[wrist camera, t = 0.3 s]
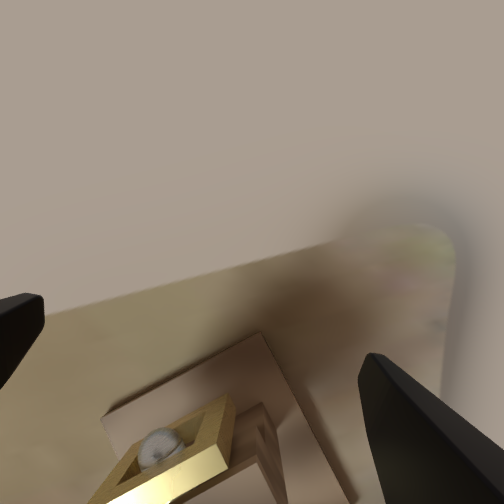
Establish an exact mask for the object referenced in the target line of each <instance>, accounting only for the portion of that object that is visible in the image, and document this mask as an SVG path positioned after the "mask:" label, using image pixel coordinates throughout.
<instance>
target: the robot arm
mask: <svg viewBox="0 0 504 504" xmlns="http://www.w3.org/2000/svg"><path fill="white" fill-rule="evenodd" d="M44 323H45V315H44V299H43V297H42V296H40V295H36V294H31V293H22V294H19V295H16V296H12V297H8V298H4V299H1V300H0V389H1V388H2V387H3V386H4V384H5V383H6V382H7V381H8V379H9V378H10V377H11V375H12V374H13V372H14V371H15V370H16V368H17V367H18V365H19V364H20V362H21V361H22V359H23V358H24V356H25V355H26V353H27V352H28V350H29V349H30V347H31V346H32V345H33V343H34V342H35V340H36V339H37V337H38V336H39V334H40V333H41V331H42V329H43V327H44ZM358 387H359V393H360V399H361V404H362V410H363V416H364V422H365V428H366V433H367V437H368V441H369V445H370V449H371V452H372V456H373V459H374V463H375V467H376V470H377V474H378V477H379V481H380V484H381V488H382V491H383V495H384V499H385V502H386V504H504V450H503V449H502V448H500V447H499V446H498V445H497V444H495V443H494V442H493V441H492V440H490V439H489V438H488V437H486V436H485V435H484V434H483V433H482V432H480V431H479V430H478V429H477V428H475V427H474V426H473V425H471V424H470V423H469V422H468V421H466V420H465V419H464V418H463V417H461V416H460V415H459V414H457V413H456V412H455V411H454V410H452V409H451V408H450V407H449V406H447V405H446V404H445V403H444V402H442V401H441V400H440V399H439V398H437V397H436V396H435V395H434V394H432V393H431V392H430V391H429V390H427V389H426V388H425V387H424V386H422V385H421V384H420V383H418V382H417V381H416V380H415V379H413V378H412V377H411V376H410V375H408V374H407V373H406V372H405V371H403V370H402V369H401V368H400V367H398V366H397V365H396V364H395V363H393V362H392V361H391V360H389V359H388V358H387V357H386V356H384V355H382V354H376V353H368V354H367V356H366V358H365V360H364V363H363V365H362V368H361V370H360V373H359V375H358Z"/></svg>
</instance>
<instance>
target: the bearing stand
mask: <svg viewBox="0 0 504 504" xmlns="http://www.w3.org/2000/svg"><path fill="white" fill-rule="evenodd" d="M226 393H229V395H230V397H231V399H232V401H233V403H234V405H235V407H236V415H235V423H234V430H233V437H232V444H231V452H230V459H229V466H228V469H226V470H225V471H223V472H221V473H219V474H217V475H216V476H214V477H212V478H210V479H208V480H207V481H205V482H203V483H201V484H199V487H197V488H195V489H193V490H192V491H190V492H188V493H186V494H184V495H183V496H181V497H179V498H177V499H175V500H174V501H172V502H170V503H168V504H350V503H349V501H348V499H347V497H346V495H345V493H344V491H343V489H342V487H341V486H340V484H339V482H338V480H337V478H336V476H335V474H334V472H333V470H332V468H331V466H330V464H329V462H328V460H327V459H326V457H325V455H324V453H323V451H322V449H321V447H320V445H319V443H318V441H317V439H316V437H315V435H314V433H313V432H312V430H311V428H310V426H309V424H308V422H307V420H306V418H305V416H304V414H303V412H302V410H301V408H300V406H299V405H298V403H297V401H296V399H295V397H294V395H293V393H292V391H291V389H290V387H289V385H288V383H287V381H286V379H285V378H284V376H283V374H282V372H281V370H280V368H279V366H278V364H277V362H276V360H275V358H274V356H273V354H272V352H271V351H270V349H269V347H268V345H267V343H266V341H265V339H264V337H263V335H262V333H261V331H260V332H258V333H256V334H254V335H252V336H250V337H248V338H246V339H245V340H243V341H241V342H239V343H237V344H235V345H233V346H232V347H230V348H228V349H226V350H224V351H222V352H220V353H219V354H217V355H215V356H213V357H211V358H209V359H207V360H206V361H204V362H202V363H200V364H198V365H196V366H194V367H192V368H191V369H189V370H187V371H185V372H183V373H181V374H179V375H178V376H176V377H174V378H172V379H170V380H168V381H166V382H165V383H163V384H161V385H159V386H157V387H155V388H153V389H151V390H150V391H148V392H146V393H144V394H142V395H140V396H138V397H137V398H135V399H133V400H131V401H129V402H127V403H125V404H124V405H122V406H120V407H118V408H116V409H114V410H112V411H111V412H109V413H107V414H105V415H104V416H103V417H102V418H101V419H100V420H101V422H102V425H103V427H104V429H105V431H106V433H107V436H108V438H109V440H110V442H111V444H112V447H113V449H114V451H115V453H116V455H117V458H118V460H119V461H120V460H121V459H122V457H123V456H124V455H125V453H126V452H127V451H128V449H129V448H130V447H131V445H132V444H134V443H136V442H138V441H139V440H141V439H143V438H145V437H146V436H147V435H148V434H149V433H150V432H151V431H153V430H155V429H157V428H162V427H165V426H167V425H169V424H171V423H173V422H174V421H176V420H178V419H180V418H182V417H184V416H185V415H187V414H189V413H191V412H193V411H195V410H196V409H198V408H200V407H202V406H204V405H206V404H208V403H209V402H211V401H213V400H215V399H217V398H219V397H220V396H222V395H224V394H226ZM194 442H195V440H193V441H191V442H189V443H187V444H186V445H185V446H186V448H187V447H189V446H191V445H193V444H194Z"/></svg>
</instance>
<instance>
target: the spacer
mask: <svg viewBox="0 0 504 504" xmlns="http://www.w3.org/2000/svg"><path fill="white" fill-rule="evenodd" d="M235 415H236V407H235V405H234V403H233V401H232V399H231V397H230V395H229V393H226V394H224V395H222V396H220V397H219V398H217V399H215V400H213V401H211V402H209V403H208V404H206V405H204V406H202V407H200V408H198V409H196V410H195V411H193V412H191V413H189V414H187V415H185V416H184V417H182V418H180V419H178V420H176V421H174V422H173V423H171V424H169V425H167V426H165V427H167V428H171V429H173V430H175V431H176V432H177V433H178V434H179V435H180V436H181V438H182V440H183V442H184V444H185V445H186V444H187V443H189V442H191V441H193V440H195V442H194V444H193V445H191V446H189V447H187V448H185V449H183V450H182V451H180V452H178V453H176V454H174V455H173V456H171V457H169V458H167V459H165V460H163V461H162V462H160V463H158V464H156V465H154V466H152V467H151V468H149V469H147V470H145V471H143V472H141V470H140V467H139V464H138V451H139V447H140V445H141V442H142V441H143V439H144V438H143V439H141V440H139V441H138V442H136V443H134V444H132V445H131V447H130V448H129V449H128V451H127V452H126V453H125V455H124V456H123V457H122V459H121V460H120V461H119V462H118V464H117V465H116V466H115V468H114V469H113V470H112V472H111V473H110V474H109V476H108V477H107V478H106V479H105V481H104V482H103V483H102V485H101V486H100V487H99V489H98V490H97V491H96V493H95V494H94V495H93V496H92V498H91V499H90V500H89V502H88V503H87V504H165V503H167V502H169V501H171V500H172V499H174V498H176V497H178V496H180V495H181V494H183V493H185V492H187V491H189V490H190V489H192V488H194V487H196V486H198V485H199V484H201V483H203V482H205V481H207V480H208V479H210V478H212V477H214V476H216V475H217V474H219V473H221V472H223V471H225V470H226V469H228V466H229V459H230V452H231V444H232V437H233V430H234V423H235Z"/></svg>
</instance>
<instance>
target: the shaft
mask: <svg viewBox="0 0 504 504" xmlns="http://www.w3.org/2000/svg"><path fill="white" fill-rule="evenodd" d="M185 448H186V446H185V444H184V442H183V440H182V438H181V436H180V435H179V434H178V433H177V432H176V431H175V430H173V429H171V428H167V427H162V428H157V429H155V430H153V431H151V432H150V433H149V434H148V435H147V436H146V437H145V438H144V439H143V441H142V442H141V445H140V447H139V451H138V464H139V467H140V470H141V472H143V471H145V470H147V469H149V468H151V467H152V466H154V465H156V464H158V463H160V462H162V461H163V460H165V459H167V458H169V457H171V456H173V455H174V454H176V453H178V452H180V451H182V450H183V449H185ZM197 487H199V485H198V486H196V487H194V488H192V489H190V490H189V491H187V492H185V493H183V494H181V495H180V496H178V497H176V498H174V499H172V500H171V501H169V502H167V503H165V504H168V503H170V502H172V501H174V500H175V499H177V498H179V497H181V496H183V495H184V494H186V493H188V492H190V491H192V490H193V489H195V488H197Z"/></svg>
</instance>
